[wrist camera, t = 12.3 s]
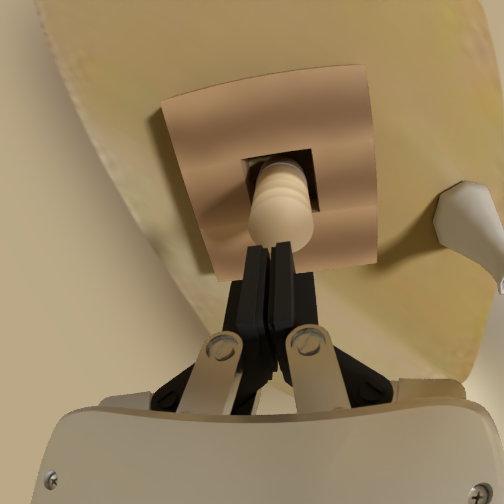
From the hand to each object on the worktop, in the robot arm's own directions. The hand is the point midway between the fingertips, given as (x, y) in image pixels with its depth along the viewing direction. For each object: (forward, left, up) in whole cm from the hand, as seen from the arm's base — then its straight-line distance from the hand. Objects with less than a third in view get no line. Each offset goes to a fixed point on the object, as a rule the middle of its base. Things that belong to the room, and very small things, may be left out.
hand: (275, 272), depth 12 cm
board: (+1, 0, -14) cm, 14 cm away
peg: (+1, 0, -14) cm, 14 cm away
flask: (+7, +17, -14) cm, 23 cm away
